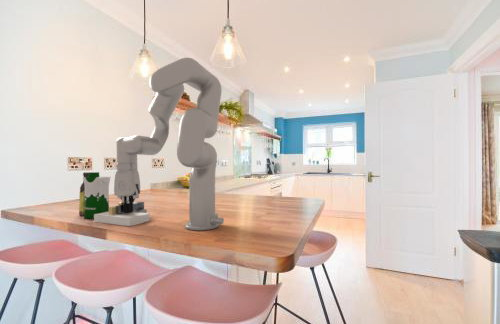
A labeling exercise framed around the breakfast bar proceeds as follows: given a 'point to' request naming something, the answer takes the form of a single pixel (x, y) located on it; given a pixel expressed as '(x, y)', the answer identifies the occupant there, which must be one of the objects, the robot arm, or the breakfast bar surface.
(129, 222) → the grey base with block
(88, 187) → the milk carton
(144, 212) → the jamb post
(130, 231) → the breakfast bar surface
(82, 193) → the sauce bottle
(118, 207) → the latch arm
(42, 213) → the breakfast bar surface
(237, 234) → the breakfast bar surface
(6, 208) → the breakfast bar surface
